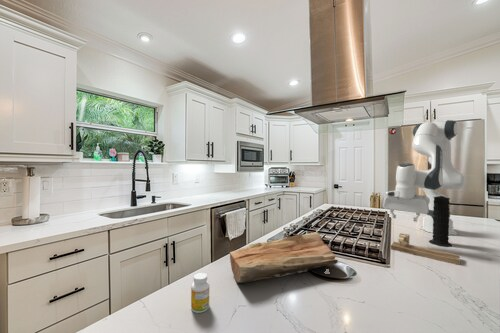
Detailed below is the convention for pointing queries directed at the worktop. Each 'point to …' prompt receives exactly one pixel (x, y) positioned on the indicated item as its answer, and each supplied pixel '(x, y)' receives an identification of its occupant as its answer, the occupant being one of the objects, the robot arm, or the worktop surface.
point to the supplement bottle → (200, 293)
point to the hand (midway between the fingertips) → (404, 219)
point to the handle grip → (441, 222)
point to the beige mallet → (403, 238)
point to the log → (280, 257)
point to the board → (426, 252)
